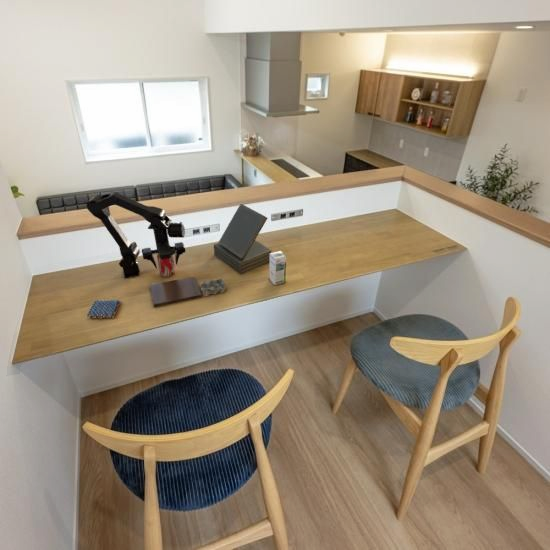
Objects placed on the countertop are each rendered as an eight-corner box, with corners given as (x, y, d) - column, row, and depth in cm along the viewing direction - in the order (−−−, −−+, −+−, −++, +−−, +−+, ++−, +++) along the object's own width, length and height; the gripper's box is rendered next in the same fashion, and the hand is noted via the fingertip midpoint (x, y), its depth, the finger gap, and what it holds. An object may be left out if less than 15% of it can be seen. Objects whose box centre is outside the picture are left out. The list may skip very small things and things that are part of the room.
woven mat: (114, 318, 145) (113, 314, 144) (87, 319, 144) (85, 315, 143) (121, 302, 154) (120, 298, 153) (95, 303, 153) (94, 299, 152)
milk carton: (274, 285, 167) (275, 258, 159) (268, 279, 172) (269, 252, 163) (285, 282, 169) (287, 256, 161) (279, 276, 174) (280, 249, 166)
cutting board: (154, 307, 152) (153, 304, 151) (150, 287, 163) (149, 284, 163) (201, 297, 158) (201, 294, 158) (194, 278, 170) (194, 276, 169)
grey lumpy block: (203, 297, 158) (202, 290, 156) (199, 287, 164) (198, 280, 162) (226, 292, 162) (226, 285, 160) (222, 283, 168) (222, 276, 165)
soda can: (171, 278, 169) (168, 257, 163) (157, 276, 170) (153, 255, 164) (177, 270, 175) (174, 249, 168) (164, 268, 176) (160, 247, 170)
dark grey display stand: (214, 254, 188) (210, 210, 174) (244, 243, 199) (243, 200, 185) (240, 274, 174) (239, 227, 160) (271, 260, 185) (272, 215, 171)
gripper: (141, 248, 152) (147, 279, 161) (185, 241, 158) (189, 271, 167) (138, 237, 161) (145, 266, 170) (181, 230, 167) (185, 259, 176)
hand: (166, 266), depth 170 cm, fingers open, 9 cm apart
